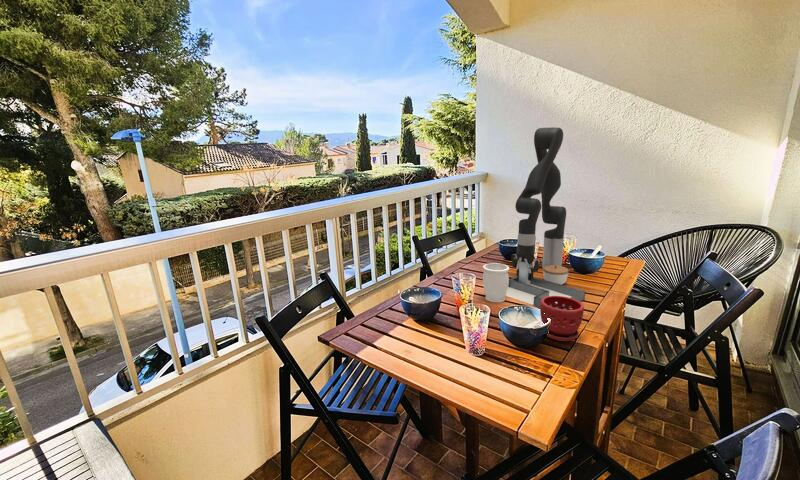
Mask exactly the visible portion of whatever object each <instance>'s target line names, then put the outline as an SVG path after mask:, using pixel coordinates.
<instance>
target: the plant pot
mask: <svg viewBox="0 0 800 480" xmlns="http://www.w3.org/2000/svg"><path fill="white" fill-rule="evenodd" d="M555 302H557V304H555ZM550 304H552V307H551V306H550ZM562 304H565V306H562ZM569 306H571V308H569ZM555 307H559V308H560V309H557V308H555ZM539 308H540V309H539V311H540V312H539V313H540V319H541V322H543V323H544V324H545V323H547V322H548V320H547V318H550V319H551V324H550V326H549V333H548V335H547V336H546V337H548V338H550V339H552V340H555V341H557V342H570V341H574V340H576V339H577V338H578V336H579V331H578V330H579V329H580V327H581V325H582V321H583V317H584V310H585V306H584V304H583V303H582V301H581V302H579V301H577V300H575V299H572V298H568V297H563V296H547V297H544V298H543V299H542V300H541V307H539ZM564 308H565V309H567V310H563V309H564ZM544 313H545V314H544ZM543 323H542V324H543Z"/></svg>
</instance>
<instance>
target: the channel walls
mask: <svg viewBox="0 0 800 480" xmlns="http://www.w3.org/2000/svg"><path fill="white" fill-rule="evenodd" d="M530 284H532V285H535V286H538V287H542V288H545V289H549V290H552V291H555V292H559V293H562V294H565V295H569V296H572V297H571V298H572V299H575V300H577V301H579V302H581V303H582V302H583V301H584V300H586V299H585V298H586V291H585V290H583V289H579V288H576V287H571V286H568V285H564V284H562V285H561V284H557V283H554V282H550V281H546V280H544V278H543V279H542V278H538V277H536V276H533V279H532V280H531V281H530ZM508 287H510V288H514V289H517V290H520V291H523V292H526V293H529V294H532V295H535V297H534V303H533V305H532V306H534V305H535V307H537V306H538V308H540V307H541V300H542V299H543V298H544V297H547V296H549V291H548V290H544V289H541V288H538V287H534V286H531V285H528V284H524V283H521V282H519V278H518V277H517V276H515V277H512V278H509V285H508ZM582 300H583V301H582ZM555 304H557V303H555ZM550 306H551V307H552V304H550ZM562 306H565V304H562ZM555 308H557V309H560V308H559V307H555ZM569 309H572V307H571V306H569ZM563 310H567V309H565V308H564V309H563Z"/></svg>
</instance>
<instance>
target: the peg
mask: <svg viewBox="0 0 800 480" xmlns="http://www.w3.org/2000/svg"><path fill="white" fill-rule="evenodd" d="M529 266H531V264H529ZM528 273H529V271H528V268H527V263H525V262H520V265H519V282H521V283H524V284H528V285H530V281H529V280H528Z"/></svg>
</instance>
